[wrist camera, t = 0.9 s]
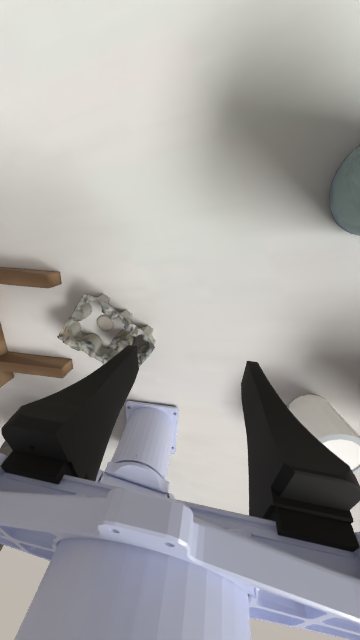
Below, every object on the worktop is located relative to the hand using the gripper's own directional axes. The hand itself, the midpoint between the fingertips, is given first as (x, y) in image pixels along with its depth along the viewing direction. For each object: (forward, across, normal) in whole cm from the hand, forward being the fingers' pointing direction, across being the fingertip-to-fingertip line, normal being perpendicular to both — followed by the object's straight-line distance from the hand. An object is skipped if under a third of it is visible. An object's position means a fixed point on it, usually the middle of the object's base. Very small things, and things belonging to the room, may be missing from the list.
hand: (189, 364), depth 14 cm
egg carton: (+12, +11, +7) cm, 18 cm away
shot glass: (+12, -16, +16) cm, 26 cm away
